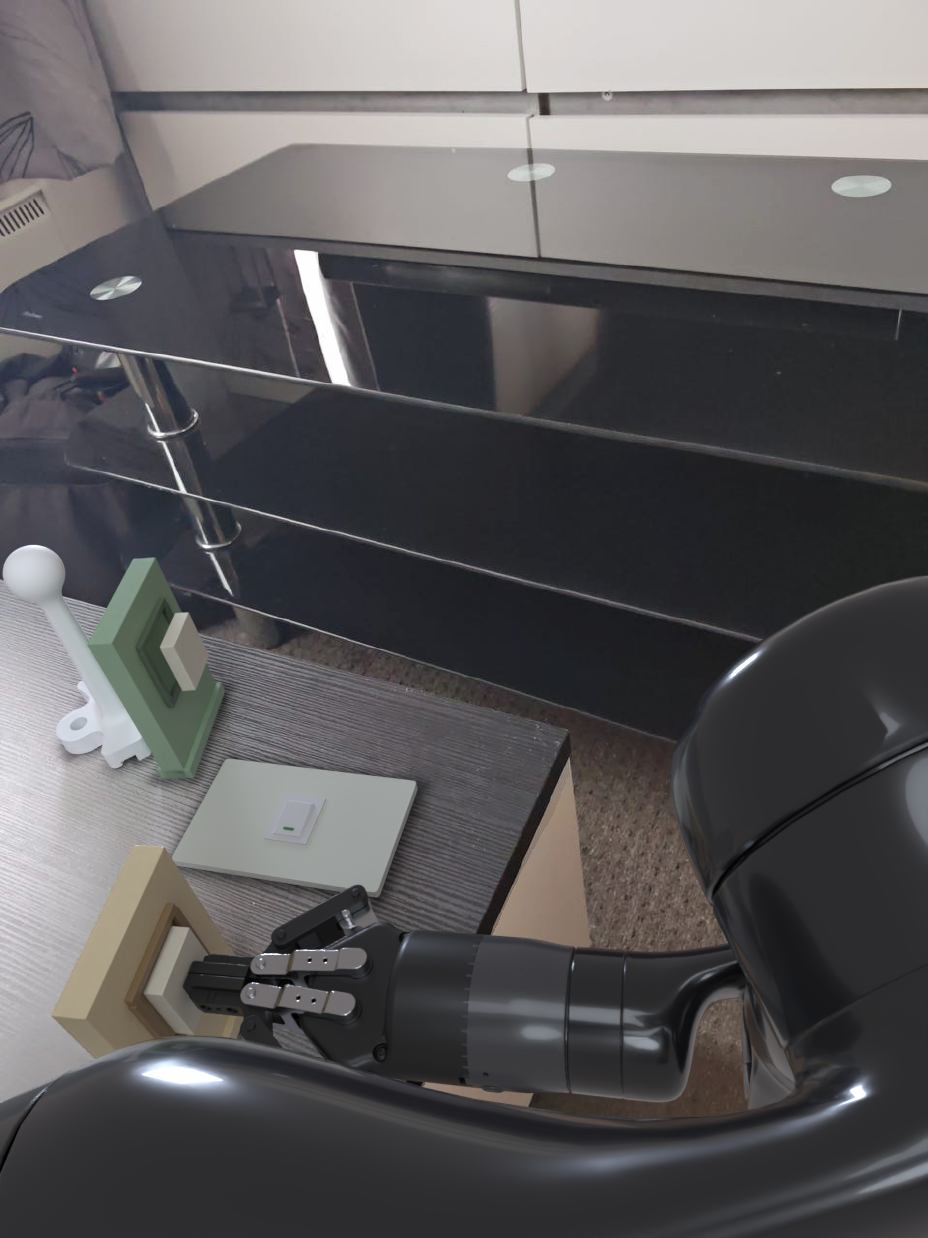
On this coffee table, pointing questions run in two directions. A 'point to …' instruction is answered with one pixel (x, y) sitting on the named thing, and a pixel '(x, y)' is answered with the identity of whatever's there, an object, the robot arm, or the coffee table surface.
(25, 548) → the joystick
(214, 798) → the light switch
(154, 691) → the far plate
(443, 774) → the coffee table surface
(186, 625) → the far switch
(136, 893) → the near plate
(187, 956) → the near switch
